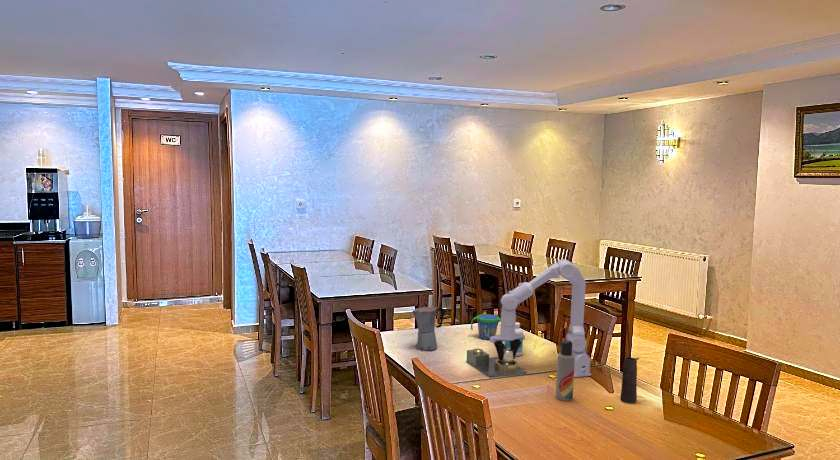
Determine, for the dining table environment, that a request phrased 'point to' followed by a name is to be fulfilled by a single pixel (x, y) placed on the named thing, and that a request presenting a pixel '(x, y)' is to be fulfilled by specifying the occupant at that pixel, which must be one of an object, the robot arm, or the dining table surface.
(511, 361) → the spout can
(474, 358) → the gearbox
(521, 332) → the pill bottle
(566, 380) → the lotion bottle
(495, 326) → the snack cup
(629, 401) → the butter churn
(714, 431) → the dining table surface
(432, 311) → the moka pot
